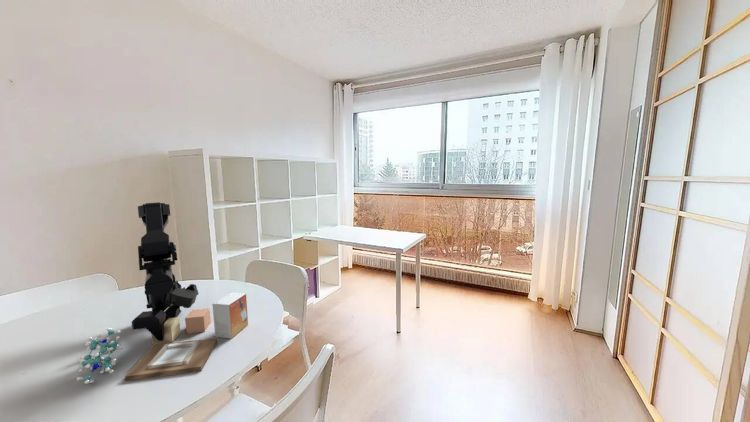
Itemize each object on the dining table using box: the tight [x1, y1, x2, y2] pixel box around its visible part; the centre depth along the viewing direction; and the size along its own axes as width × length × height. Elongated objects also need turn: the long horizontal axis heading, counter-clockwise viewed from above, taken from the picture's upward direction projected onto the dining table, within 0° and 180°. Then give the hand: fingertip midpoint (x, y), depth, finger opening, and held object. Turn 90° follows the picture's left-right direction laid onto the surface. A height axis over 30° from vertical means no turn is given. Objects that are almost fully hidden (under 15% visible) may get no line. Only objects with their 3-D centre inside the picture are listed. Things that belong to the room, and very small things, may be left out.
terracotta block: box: [184, 307, 212, 334], centre depth 87 cm, size 5×5×5 cm
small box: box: [212, 292, 249, 339], centre depth 85 cm, size 8×6×10 cm
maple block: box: [150, 316, 182, 345], centre depth 82 cm, size 5×5×5 cm
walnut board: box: [124, 337, 219, 382], centre depth 73 cm, size 16×12×2 cm
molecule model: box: [75, 327, 123, 385], centre depth 70 cm, size 8×18×7 cm, turn 37°
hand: (166, 334), depth 82 cm, fingers open, 6 cm apart
